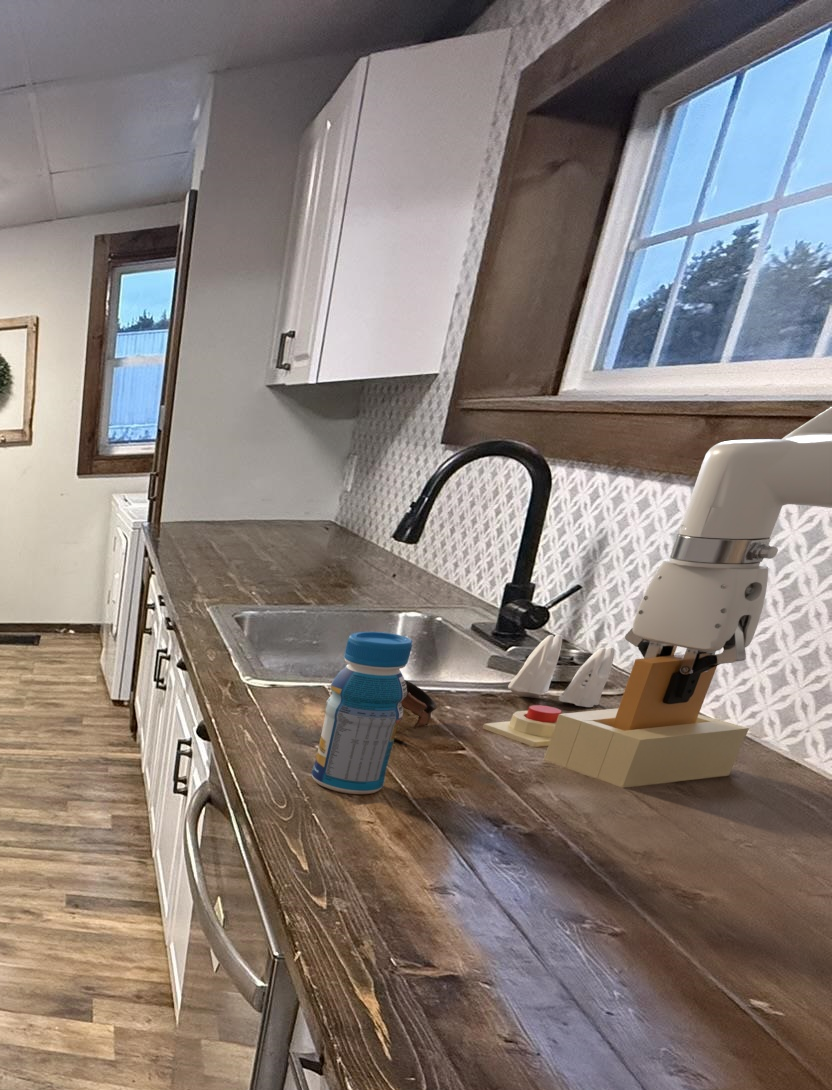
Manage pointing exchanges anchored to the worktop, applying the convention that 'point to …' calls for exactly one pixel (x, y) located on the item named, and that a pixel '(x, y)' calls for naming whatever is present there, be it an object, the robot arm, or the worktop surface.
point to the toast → (658, 695)
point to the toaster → (643, 749)
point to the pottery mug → (418, 704)
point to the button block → (523, 729)
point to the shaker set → (581, 688)
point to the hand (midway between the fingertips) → (663, 698)
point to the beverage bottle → (363, 714)
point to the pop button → (543, 713)
